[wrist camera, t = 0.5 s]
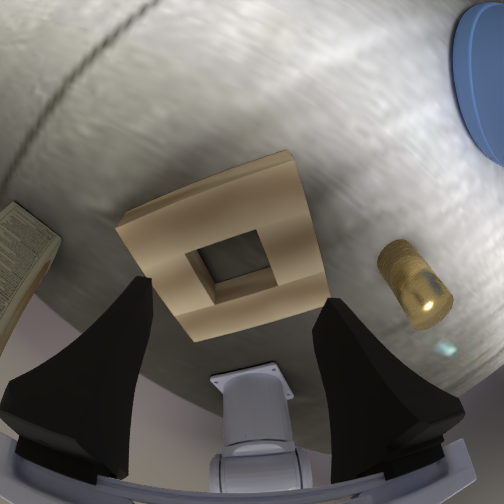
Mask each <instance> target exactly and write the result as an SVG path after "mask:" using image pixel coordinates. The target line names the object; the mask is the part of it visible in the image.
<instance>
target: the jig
mask: <svg viewBox="0 0 504 504" xmlns="http://www.w3.org/2000/svg"><path fill="white" fill-rule="evenodd" d="M115 229H116V231H117V232H118V234H119V236H120V237H121V239H122V240H123V242H124V244H125V245H126V247H127V248H128V250H129V251H130V253H131V255H132V256H133V258H134V259H135V261H136V262H137V264H138V265H139V267H140V268H141V270H142V271H143V273H144V274H145V276H146V277H148V278H152V286H153V287H154V289H155V290H156V291H157V293H158V294H159V296H160V297H161V299H162V300H163V301H164V303H165V304H166V305H167V307H168V308H169V310H170V311H171V312H172V314H173V315H174V316H175V318H176V319H177V320H178V322H179V323H180V324H181V326H182V327H183V328H184V329H185V331H186V332H187V333H188V335H189V336H190V337H191V338H192V340H193V341H194V342H197V341H201V340H206V339H210V338H214V337H218V336H222V335H226V334H229V333H233V332H237V331H241V330H245V329H248V328H252V327H255V326H259V325H263V324H266V323H270V322H273V321H276V320H280V319H283V318H287V317H290V316H293V315H296V314H300V313H303V312H306V311H309V310H312V309H316V308H319V307H322V306H324V304H325V302H326V300H327V298H330V293H329V289H328V284H327V280H326V275H325V271H324V267H323V263H322V258H321V254H320V250H319V246H318V242H317V238H316V234H315V231H314V227H313V223H312V219H311V215H310V212H309V208H308V205H307V201H306V197H305V194H304V190H303V187H302V183H301V180H300V177H299V173H298V170H297V167H296V163H295V160H294V159H293V157H292V156H291V155H290V153H289V152H288V151H287V150H285V151H281V152H278V153H275V154H272V155H269V156H266V157H263V158H260V159H257V160H254V161H251V162H248V163H246V164H243V165H240V166H237V167H234V168H232V169H229V170H226V171H223V172H221V173H218V174H215V175H213V176H210V177H207V178H205V179H202V180H200V181H197V182H195V183H192V184H190V185H187V186H185V187H182V188H180V189H177V190H175V191H173V192H170V193H168V194H166V195H163V196H161V197H159V198H156V199H154V200H152V201H149V202H147V203H145V204H143V205H140V206H138V207H136V208H134V209H132V210H129V211H127V212H126V213H125V215H124V216H123V218H122V219H121V221H120V222H119V224H118V225H117V227H116V228H115ZM255 229H256V230H257V233H258V235H259V238H260V240H261V243H262V245H263V248H264V250H265V253H266V255H267V258H268V261H269V263H270V266H271V267H268V268H264V269H261V270H258V271H255V272H252V273H249V274H246V275H242V276H239V277H236V278H233V279H230V280H226V281H223V282H220V283H217V284H215V282H214V280H213V278H212V277H211V275H210V273H209V271H208V269H207V268H206V266H205V264H204V262H203V260H202V259H201V257H200V255H199V253H198V251H197V249H199V248H202V247H205V246H208V245H211V244H214V243H217V242H219V241H222V240H225V239H228V238H231V237H234V236H237V235H240V234H243V233H246V232H249V231H252V230H255Z"/></svg>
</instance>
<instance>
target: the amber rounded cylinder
mask: <svg viewBox="0 0 504 504" xmlns="http://www.w3.org/2000/svg"><path fill="white" fill-rule="evenodd" d="M377 266H378V269H379V271H380V272H381V274H382V275H383V277H384V279H385V280H386V282H387V283H388V285H389V287H390V288H391V290H392V291H393V293H394V295H395V296H396V298H397V300H398V301H399V303H400V305H401V306H402V308H403V310H404V312H405V313H406V315H407V317H408V319H409V320H410V322H411V324H412V326H413V327H414V328H415V329H417V330H425V329H428V328H431V327H433V326H434V325H436V324H437V323H439V322H440V321H441V320H442V319H443V318H444V317H445V316H446V315H447V314H448V312H449V311H450V309H451V307H452V305H453V296H452V294H451V293H450V292H449V290H448V289H447V288H446V286H445V285H444V284H443V282H442V281H441V280H440V279H439V277H438V276H437V275H436V273H435V272H434V271H433V270H432V268H431V267H430V266H429V265H428V264H427V262H426V261H425V260H424V259H423V257H422V256H421V255H420V254H419V253H418V252H417V250H416V249H415V248H414V247H413V246H412V245H411V243H410V242H408V241H407V240H396V241H393V242H391V243H390V244H388V245H387V246H386V247H385V248H384V249H383V250H382V252H381V253H380V255H379V257H378V261H377Z"/></svg>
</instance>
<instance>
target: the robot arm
mask: <svg viewBox="0 0 504 504" xmlns="http://www.w3.org/2000/svg"><path fill="white" fill-rule="evenodd" d="M152 319H153V298H152V278H148V277H141V276H136V277H135V278H134V279H133V280H132V282H131V283H130V284H129V285H128V287H127V288H126V289H125V290H124V291H123V292H122V294H121V295H120V296H119V297H118V298H117V299H116V300H115V302H114V303H113V304H112V305H111V306H110V307H109V308H108V309H107V310H106V311H105V312H104V313H103V314H102V315H101V316H100V317H99V318H98V319H97V320H96V321H95V322H94V324H93V325H91V326H90V327H89V328H88V329H87V330H86V331H85V332H84V333H83V334H82V335H80V336H79V337H78V338H77V339H76V340H75V341H73V342H72V343H71V344H70V345H68V346H67V347H66V348H64V349H63V350H62V351H60V352H59V353H58V354H56V355H55V356H53V357H52V358H50V359H49V360H47V361H46V362H44V363H42V364H41V365H39V366H38V367H36V368H34V369H33V370H31V371H29V372H27V373H25V374H23V375H21V376H19V377H17V378H15V379H13V380H11V381H9V383H8V385H7V388H6V389H5V392H4V395H3V398H2V400H1V403H0V418H1V419H2V420H3V421H4V422H5V423H6V424H7V425H8V426H9V427H10V428H11V429H13V430H14V431H15V432H16V433H17V434H18V435H19V439H18V442H17V441H16V440H14V439H12V438H11V437H9V436H7V435H5V434H3V433H1V432H0V497H1V498H3V499H5V500H6V501H8V502H10V503H11V504H135V503H133V502H132V501H136V502H141V503H147V504H316V503H321V502H327V501H332V500H336V499H341V498H345V497H350V496H352V497H351V499H350V500H348V501H344V502H341V503H337V504H441V503H442V502H444V501H445V500H446V499H448V498H450V497H451V496H453V495H454V494H456V493H457V492H459V491H460V490H462V489H463V488H465V487H466V486H468V485H469V484H471V483H472V482H474V481H475V480H476V479H477V477H476V474H475V471H474V468H473V465H472V462H471V459H470V456H469V454H468V451H467V448H466V445H465V443H464V440H463V439H460V440H458V441H455V442H453V443H451V444H449V445H447V446H445V447H443V448H442V446H441V443H442V442H444V438H443V434H444V433H446V432H447V431H448V430H450V429H451V428H452V427H454V426H455V425H456V424H458V423H459V422H460V421H461V420H462V419H463V418H464V416H465V411H464V409H463V406H462V404H461V402H460V400H459V398H457V397H455V396H453V395H451V394H449V393H447V392H445V391H443V390H441V389H439V388H438V387H436V386H434V385H433V384H431V383H429V382H428V381H426V380H425V379H423V378H422V377H420V376H419V375H418V374H416V373H415V372H413V371H412V370H411V369H409V368H408V367H407V366H406V365H404V364H403V363H402V362H401V361H400V360H399V359H397V358H396V357H395V356H394V355H393V354H392V353H391V352H390V351H389V350H388V349H387V348H386V347H385V346H384V345H383V344H382V343H381V342H380V341H379V340H378V339H377V338H376V337H375V336H374V335H373V334H372V333H371V332H370V331H369V330H368V328H367V327H366V326H365V325H364V324H363V323H362V322H361V321H360V320H359V318H358V317H357V316H356V315H355V314H354V313H353V312H352V311H351V309H350V308H349V307H348V306H347V305H346V304H345V303H344V302H343V301H342V300H341V299H340V298H327V300H326V302H325V304H324V306H323V308H322V310H321V313H320V315H319V317H318V319H317V321H316V323H315V325H314V327H313V329H312V334H313V343H314V350H315V354H316V358H317V362H318V366H319V370H320V373H321V377H322V381H323V385H324V388H325V392H326V397H327V402H328V410H329V418H330V429H331V447H332V464H331V465H332V466H331V484H330V485H325V486H319V487H312V474H311V466H310V462H309V458H308V455H307V453H306V452H305V451H304V450H302V448H300V447H299V448H295V446H294V441H292V429H291V423H290V417H289V410H288V404H287V400H288V399H292V398H293V397H294V395H293V393H292V391H291V389H290V387H289V386H288V384H287V382H286V380H285V378H284V377H283V375H282V373H281V371H280V369H279V367H278V366H277V364H276V363H268V364H264V365H260V366H256V367H252V368H248V369H243V370H239V371H235V372H230V373H225V374H220V375H215V376H211V377H210V381H211V382H212V383H213V384H214V385H215V386H216V387H217V388H218V389H219V390H220V391H221V392H222V393H223V410H224V447H222V448H221V454H216V455H215V457H214V458H212V460H211V462H210V469H209V480H210V490H211V493H208V492H193V491H182V490H172V489H165V488H158V487H152V486H146V485H140V484H135V483H130V482H125V481H120V480H122V479H124V478H126V477H127V476H128V466H129V465H128V463H129V439H130V426H131V416H132V407H133V400H134V392H135V387H136V382H137V379H138V375H139V371H140V368H141V364H142V360H143V357H144V353H145V350H146V346H147V343H148V340H149V336H150V330H151V325H152ZM109 477H110V478H109ZM112 478H114V479H112ZM117 479H120V480H117Z"/></svg>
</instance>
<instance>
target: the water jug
mask: <svg viewBox="0 0 504 504" xmlns="http://www.w3.org/2000/svg"><path fill="white" fill-rule="evenodd" d="M453 73H454V82H455V88H456V93H457V98H458V102H459V106H460V109H461V112H462V115H463V118H464V121H465V123H466V126H467V128H468V130H469V132H470V134H471V136H472V138H473V139H474V141H475V143H476V144H477V145H478V147H479V148H480V149H481V151H482V152H483V153H484V154H485V155H486V156H487V157H488V158H489V159H491V160H492V161H494V162H495V163H497V164H499V165H501V166H502V167H504V4H501V3H495V2H489V3H481V4H477V5H475V6H473V7H471V8H470V9H469V10H467V11H466V12H465V14H464V15H463V16H462V18H461V20H460V22H459V24H458V27H457V30H456V33H455V38H454V45H453Z"/></svg>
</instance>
